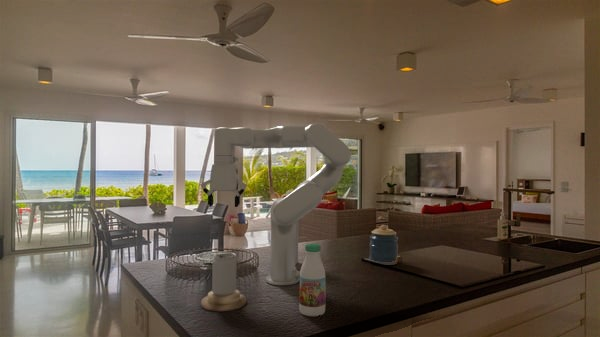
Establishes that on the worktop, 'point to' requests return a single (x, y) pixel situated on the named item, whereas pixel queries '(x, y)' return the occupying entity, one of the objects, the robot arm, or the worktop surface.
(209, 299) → the plinth
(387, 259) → the canister
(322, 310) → the milk bottle
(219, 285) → the can
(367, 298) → the worktop surface
